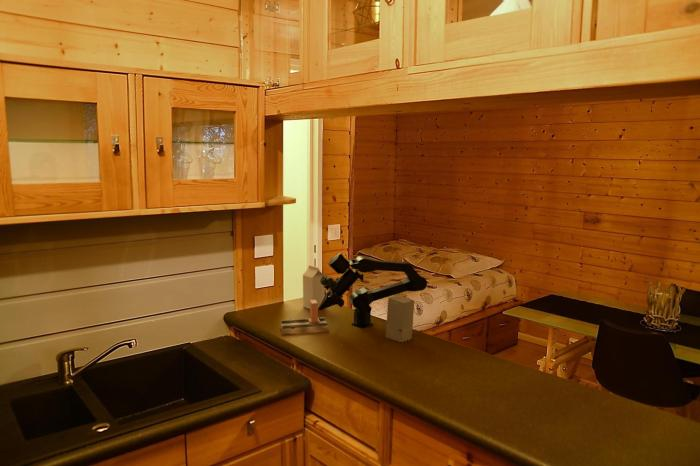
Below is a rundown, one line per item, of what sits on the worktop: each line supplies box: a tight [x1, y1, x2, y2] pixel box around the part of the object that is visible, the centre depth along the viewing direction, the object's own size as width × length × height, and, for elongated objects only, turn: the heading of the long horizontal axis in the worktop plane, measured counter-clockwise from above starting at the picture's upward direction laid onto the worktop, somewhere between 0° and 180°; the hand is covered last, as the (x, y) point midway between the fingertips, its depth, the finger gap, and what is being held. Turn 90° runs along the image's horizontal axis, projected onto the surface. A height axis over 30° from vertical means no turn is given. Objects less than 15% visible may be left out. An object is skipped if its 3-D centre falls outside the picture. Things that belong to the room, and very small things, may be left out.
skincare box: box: [385, 295, 415, 343], centre depth 204 cm, size 8×7×16 cm
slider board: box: [280, 317, 329, 335], centre depth 216 cm, size 18×10×3 cm, turn 101°
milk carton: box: [302, 265, 326, 310], centre depth 243 cm, size 7×7×19 cm
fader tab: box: [308, 300, 320, 323], centre depth 216 cm, size 4×5×9 cm
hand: (319, 309), depth 216 cm, fingers closed
